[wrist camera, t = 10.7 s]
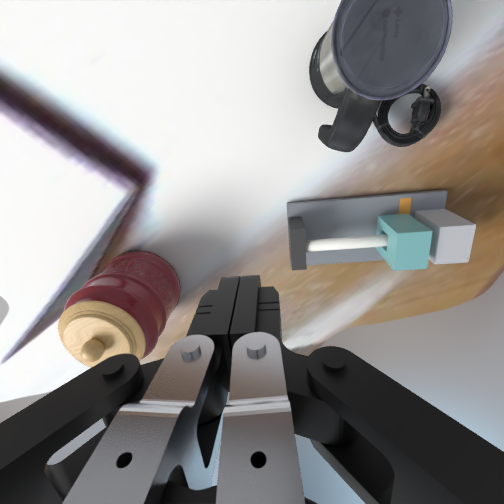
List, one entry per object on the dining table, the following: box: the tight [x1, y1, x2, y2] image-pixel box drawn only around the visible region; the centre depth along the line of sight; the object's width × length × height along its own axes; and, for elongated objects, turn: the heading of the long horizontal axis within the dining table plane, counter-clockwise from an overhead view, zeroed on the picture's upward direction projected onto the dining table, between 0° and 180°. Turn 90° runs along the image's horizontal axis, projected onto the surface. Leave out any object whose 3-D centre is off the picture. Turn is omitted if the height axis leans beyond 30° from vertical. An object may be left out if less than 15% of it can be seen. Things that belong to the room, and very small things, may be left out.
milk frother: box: [309, 0, 453, 152], centre depth 30 cm, size 14×16×15 cm
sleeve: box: [375, 213, 433, 271], centre depth 39 cm, size 5×4×7 cm
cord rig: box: [287, 190, 476, 270], centre depth 41 cm, size 10×22×8 cm, turn 96°
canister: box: [58, 251, 180, 368], centre depth 43 cm, size 13×13×18 cm
